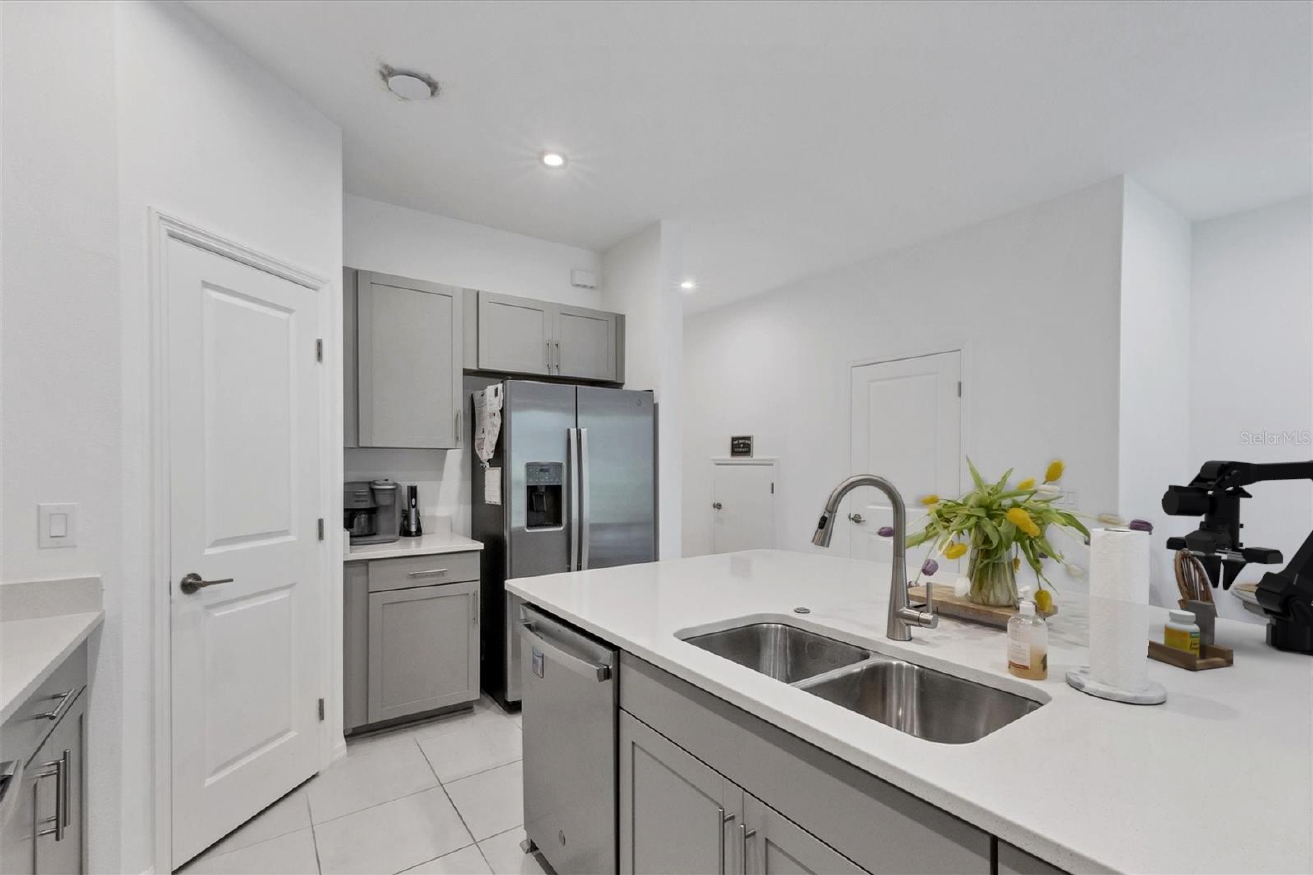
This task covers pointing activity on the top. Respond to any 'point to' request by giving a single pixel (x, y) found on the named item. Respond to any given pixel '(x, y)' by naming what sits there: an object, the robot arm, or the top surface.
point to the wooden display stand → (1207, 648)
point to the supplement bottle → (1182, 631)
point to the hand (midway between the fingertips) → (1220, 589)
